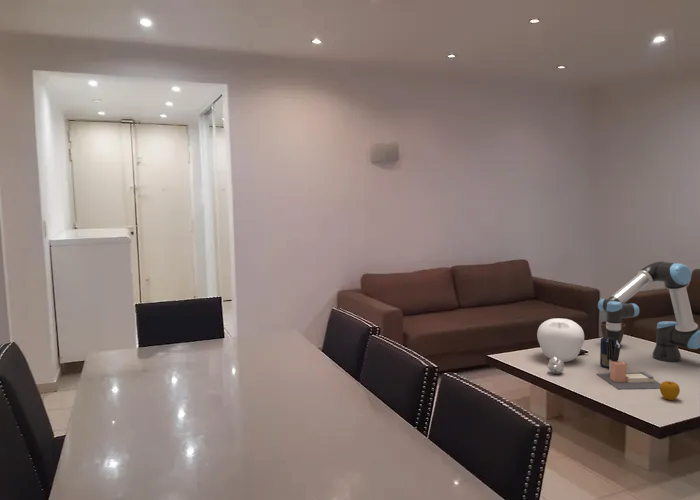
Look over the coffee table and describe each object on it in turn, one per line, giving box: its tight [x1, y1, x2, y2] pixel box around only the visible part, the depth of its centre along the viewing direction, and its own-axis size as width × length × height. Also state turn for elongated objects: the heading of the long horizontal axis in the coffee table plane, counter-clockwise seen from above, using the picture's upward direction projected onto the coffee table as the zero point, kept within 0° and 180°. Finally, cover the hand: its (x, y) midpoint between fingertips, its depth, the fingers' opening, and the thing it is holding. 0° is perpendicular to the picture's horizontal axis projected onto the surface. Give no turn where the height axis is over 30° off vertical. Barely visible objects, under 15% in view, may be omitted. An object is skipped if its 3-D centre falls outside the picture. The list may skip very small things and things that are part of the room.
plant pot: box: [600, 320, 626, 345], centre depth 349 cm, size 15×15×16 cm
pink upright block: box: [609, 360, 627, 382], centre depth 284 cm, size 6×5×10 cm
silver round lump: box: [547, 357, 566, 375], centre depth 299 cm, size 9×10×10 cm
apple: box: [659, 380, 681, 401], centre depth 259 cm, size 9×8×9 cm
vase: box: [536, 317, 585, 363], centre depth 323 cm, size 28×27×25 cm
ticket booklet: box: [626, 371, 655, 383], centre depth 285 cm, size 14×9×3 cm, turn 91°
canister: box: [599, 337, 619, 369], centre depth 309 cm, size 10×10×18 cm
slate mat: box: [596, 372, 661, 390], centre depth 285 cm, size 26×24×1 cm
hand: (612, 370), depth 290 cm, fingers closed
